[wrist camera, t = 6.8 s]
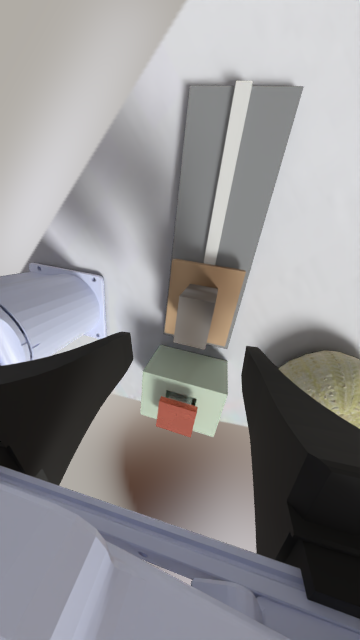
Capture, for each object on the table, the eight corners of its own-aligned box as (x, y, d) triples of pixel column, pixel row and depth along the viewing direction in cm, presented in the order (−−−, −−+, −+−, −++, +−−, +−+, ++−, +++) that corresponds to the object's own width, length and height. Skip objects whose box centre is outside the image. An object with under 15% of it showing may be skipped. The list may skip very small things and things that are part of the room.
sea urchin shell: (425, 390, 15) (413, 496, 12) (330, 382, 22) (311, 447, 20) (337, 328, 15) (307, 424, 12) (270, 341, 22) (244, 402, 20)
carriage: (167, 328, 19) (149, 354, 14) (175, 258, 16) (155, 265, 11) (224, 341, 18) (224, 374, 13) (244, 270, 15) (252, 282, 10)
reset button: (163, 407, 19) (156, 426, 17) (166, 383, 18) (158, 401, 16) (194, 416, 19) (190, 437, 17) (200, 393, 17) (196, 412, 15)
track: (165, 330, 21) (162, 335, 20) (192, 94, 13) (188, 80, 11) (227, 345, 19) (227, 351, 18) (298, 96, 11) (306, 81, 10)
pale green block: (156, 382, 24) (140, 413, 20) (160, 344, 22) (142, 371, 17) (216, 399, 23) (213, 437, 18) (227, 361, 20) (227, 394, 16)
